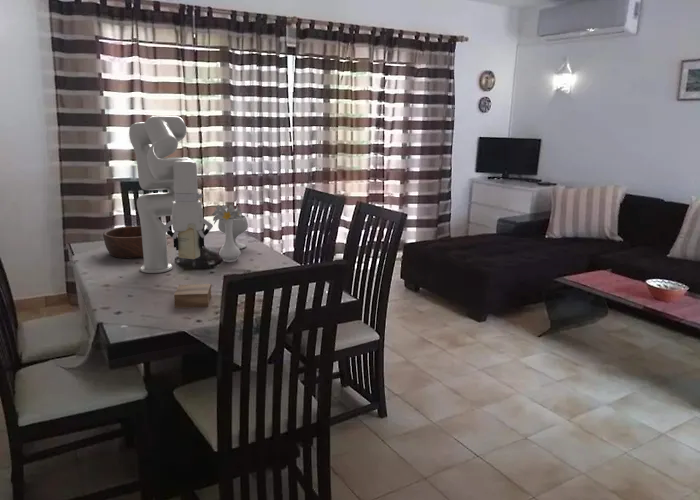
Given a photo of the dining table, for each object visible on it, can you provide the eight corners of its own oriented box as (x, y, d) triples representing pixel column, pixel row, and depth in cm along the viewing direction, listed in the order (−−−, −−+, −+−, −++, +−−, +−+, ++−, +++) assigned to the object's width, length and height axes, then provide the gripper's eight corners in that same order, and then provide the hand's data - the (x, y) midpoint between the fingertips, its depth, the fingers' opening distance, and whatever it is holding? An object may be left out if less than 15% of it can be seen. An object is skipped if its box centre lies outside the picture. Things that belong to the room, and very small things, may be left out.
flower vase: (235, 253, 257) (234, 200, 251) (250, 263, 242) (248, 207, 235) (208, 256, 250) (205, 202, 244) (220, 267, 235) (218, 209, 229)
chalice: (212, 247, 267) (211, 216, 263) (235, 242, 278) (234, 212, 274) (232, 252, 259) (231, 220, 255) (254, 246, 270) (253, 216, 266)
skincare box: (178, 258, 189) (176, 223, 186) (185, 254, 193) (183, 220, 190) (194, 259, 187) (193, 224, 184) (201, 256, 192) (199, 221, 188)
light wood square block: (179, 297, 199) (179, 284, 197) (211, 296, 200) (210, 283, 199) (175, 308, 188) (174, 294, 187) (208, 307, 190) (207, 293, 188)
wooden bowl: (104, 248, 261) (102, 227, 258) (160, 244, 270) (159, 224, 268) (104, 262, 239) (102, 239, 236) (165, 257, 248) (164, 235, 246)
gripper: (212, 195, 191) (215, 245, 195) (159, 196, 186) (163, 247, 191) (213, 198, 184) (216, 250, 188) (158, 200, 179) (162, 253, 184)
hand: (189, 248), depth 189 cm, fingers closed on skincare box, 7 cm apart
